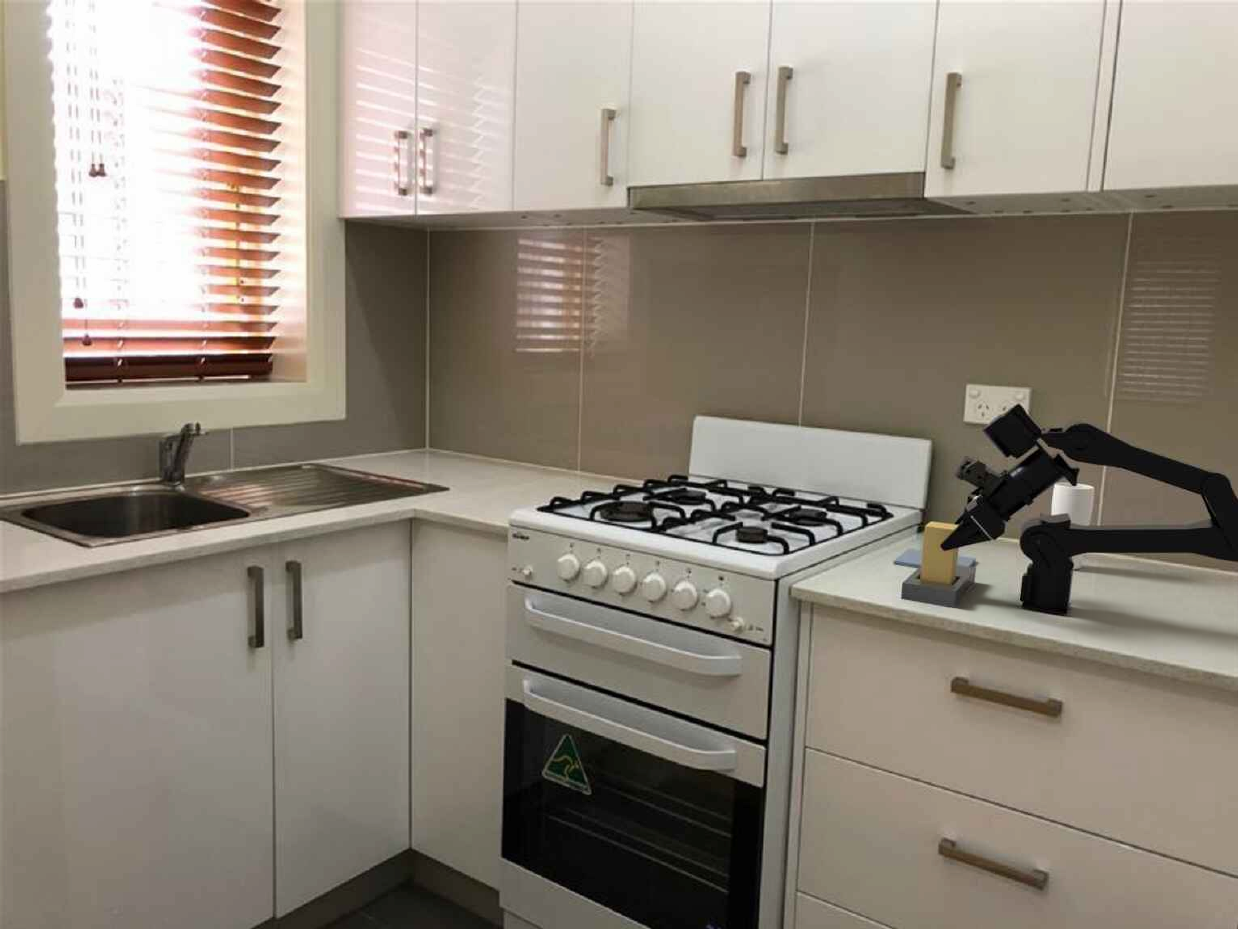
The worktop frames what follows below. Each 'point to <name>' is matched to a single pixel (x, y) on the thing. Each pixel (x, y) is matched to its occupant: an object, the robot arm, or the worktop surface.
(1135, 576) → the worktop surface
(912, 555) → the slate mat
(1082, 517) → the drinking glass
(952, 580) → the mustard block
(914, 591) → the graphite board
